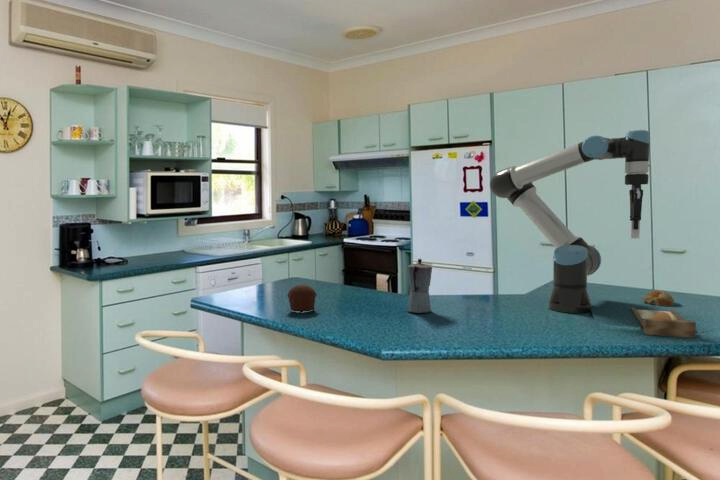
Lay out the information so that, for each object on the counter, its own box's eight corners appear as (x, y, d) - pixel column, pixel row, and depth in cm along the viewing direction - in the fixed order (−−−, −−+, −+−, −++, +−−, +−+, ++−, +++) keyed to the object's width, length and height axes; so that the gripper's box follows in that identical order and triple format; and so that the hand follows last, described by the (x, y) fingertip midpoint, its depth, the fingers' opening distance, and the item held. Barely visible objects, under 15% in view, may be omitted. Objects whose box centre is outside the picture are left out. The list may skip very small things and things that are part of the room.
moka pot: (434, 307, 194) (434, 256, 192) (429, 317, 179) (429, 262, 177) (410, 306, 196) (409, 256, 195) (403, 316, 182) (402, 262, 180)
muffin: (323, 309, 195) (322, 284, 194) (305, 315, 185) (304, 289, 185) (300, 306, 201) (299, 282, 200) (281, 312, 192) (280, 286, 191)
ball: (651, 324, 158) (655, 330, 153) (651, 309, 157) (655, 315, 152) (669, 324, 156) (673, 330, 152) (669, 309, 155) (674, 315, 151)
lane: (645, 334, 152) (645, 320, 152) (631, 312, 179) (631, 300, 179) (695, 337, 148) (695, 323, 147) (672, 315, 174) (673, 302, 174)
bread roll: (673, 319, 183) (684, 300, 181) (646, 307, 184) (656, 288, 183) (662, 312, 192) (672, 294, 191) (636, 301, 194) (646, 283, 192)
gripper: (651, 172, 173) (649, 240, 175) (645, 173, 185) (643, 236, 187) (627, 173, 176) (625, 239, 178) (622, 174, 188) (621, 236, 190)
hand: (634, 238), depth 183 cm, fingers closed
